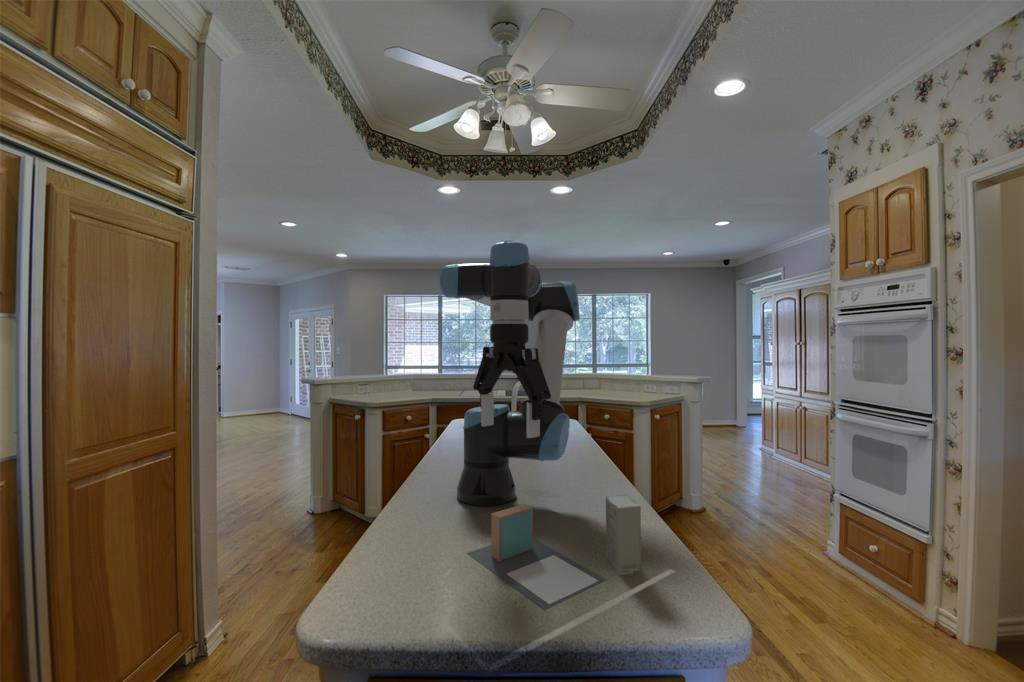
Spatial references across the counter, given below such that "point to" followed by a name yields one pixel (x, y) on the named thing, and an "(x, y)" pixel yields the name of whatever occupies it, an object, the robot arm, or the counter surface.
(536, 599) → the mat
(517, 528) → the tile
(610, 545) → the skincare box
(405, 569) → the counter surface
